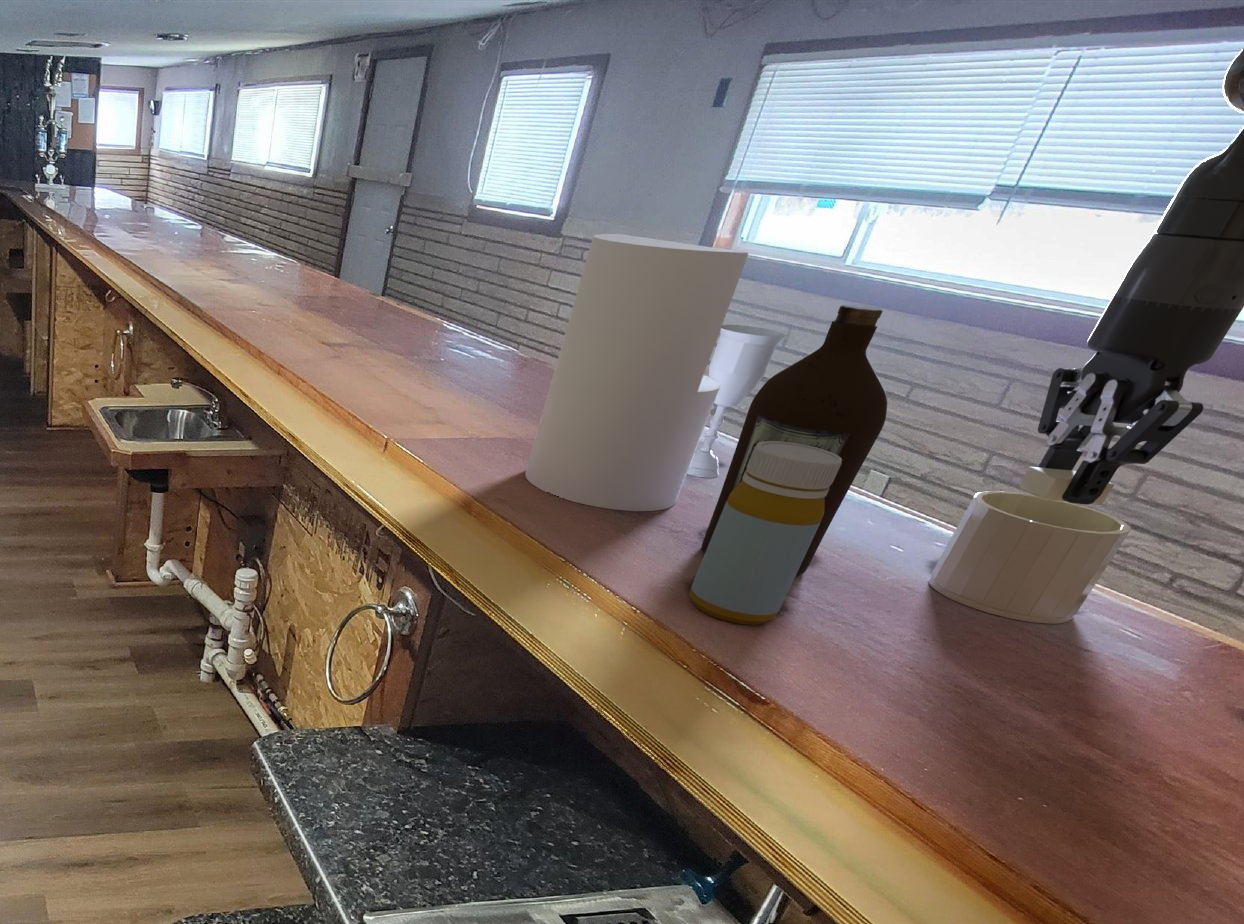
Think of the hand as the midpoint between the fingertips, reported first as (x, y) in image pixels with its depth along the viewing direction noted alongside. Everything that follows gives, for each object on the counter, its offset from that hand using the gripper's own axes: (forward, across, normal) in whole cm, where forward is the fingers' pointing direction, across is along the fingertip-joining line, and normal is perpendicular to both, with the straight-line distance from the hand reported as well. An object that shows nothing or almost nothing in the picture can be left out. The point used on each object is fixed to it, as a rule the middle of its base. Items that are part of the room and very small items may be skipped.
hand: (1060, 493), depth 83 cm
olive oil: (+11, +3, +21) cm, 24 cm away
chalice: (+11, +34, +16) cm, 39 cm away
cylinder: (+11, +23, +31) cm, 40 cm away
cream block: (0, 0, 0) cm, 0 cm away
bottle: (+11, -11, +28) cm, 32 cm away
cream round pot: (+11, 0, 0) cm, 11 cm away
